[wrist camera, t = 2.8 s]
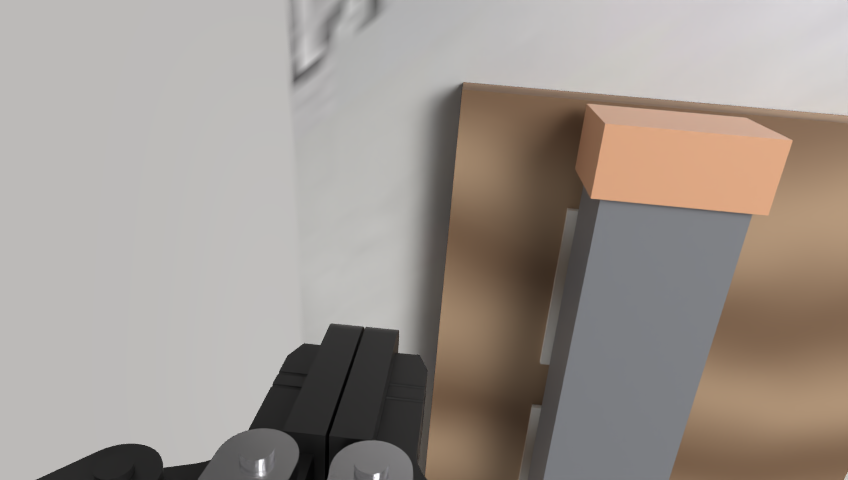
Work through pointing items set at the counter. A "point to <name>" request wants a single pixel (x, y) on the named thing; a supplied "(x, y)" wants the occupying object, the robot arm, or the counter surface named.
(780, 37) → the counter surface
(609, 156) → the swing arm
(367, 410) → the robot arm
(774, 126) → the label board
